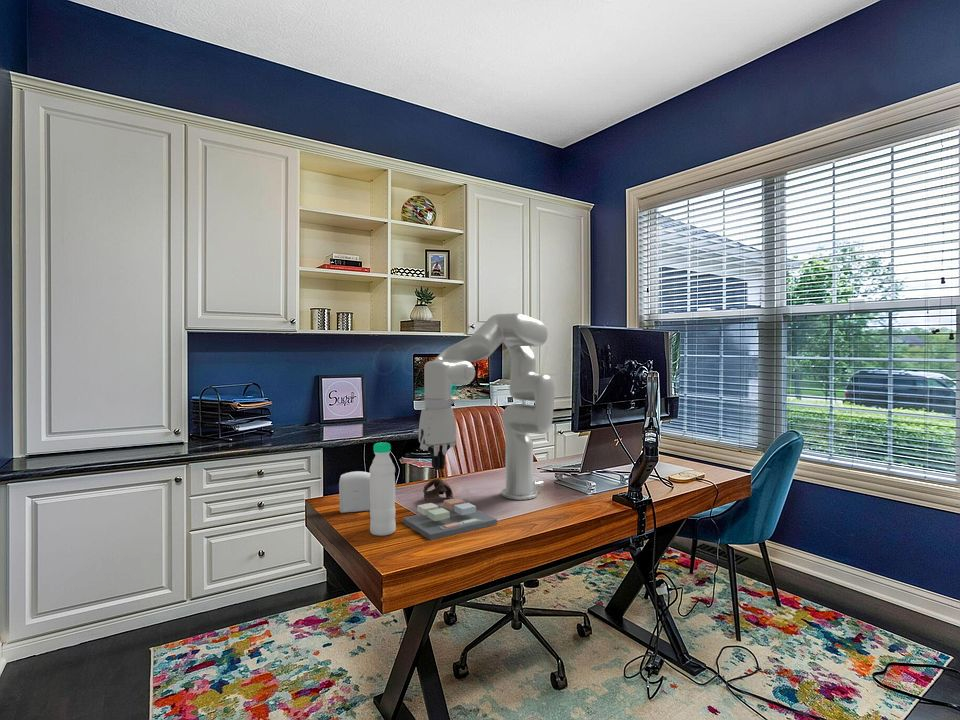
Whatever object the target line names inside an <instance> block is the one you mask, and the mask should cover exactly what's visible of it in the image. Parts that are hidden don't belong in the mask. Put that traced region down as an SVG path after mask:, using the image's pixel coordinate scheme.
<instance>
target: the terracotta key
mask: <svg viewBox="0 0 960 720" xmlns="http://www.w3.org/2000/svg"><path fill="white" fill-rule="evenodd" d="M464 503H466V502H465V500H462V499H461V498H459V497H455V498H454V497H453V499H451V498H449V499H444V500H443V507H445V509H450V510H453V509H454V505H459V504H464Z"/></svg>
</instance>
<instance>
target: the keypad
mask: <svg viewBox="0 0 960 720" xmlns="http://www.w3.org/2000/svg"><path fill="white" fill-rule="evenodd" d="M444 509H445V510H447V511H449V512H450V518H448V519H443V520H438V521H434V520H432V519H430V518H428V517H427V515H423V514H421V513H419V514H415V515H410V516H404V517H402V524H404V525H406V526H407V527H409V528H411V529H412V530H413V531H415V532H417V533H418V534H419V535H422V536H423V537H425V538H427V539H428V540H429V541H433V540H437V539H441V538H442V539H443V538H446V537H449V536H450V537H451V536H454V535H459V534H462V533H467V532H471V531H475V530H480V529H484V528H488V527H492V526H496V525H497V524H498V518H495V517H494V516H490V515H489V514H486V513H484V512H482V511H480V510H478V509H476V512H475V513H471V514H466V515H461V514H458V513H456V512H454V509H453V510H450V509H448V508H444Z"/></svg>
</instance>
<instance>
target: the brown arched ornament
mask: <svg viewBox="0 0 960 720" xmlns="http://www.w3.org/2000/svg"><path fill="white" fill-rule="evenodd" d="M432 486H433V487H434V488H433V489H431V490H429V488H431V487H432ZM422 492H423V499H424V501H425V502H426V501H427V500H430V499H433V498H435V497H436V498H440V495H444V494H445V497H446V498H450V499H453V498H454V494H453V490H452V488H451V486H450V484H448V483H447V482H446V481H444V480H443V479H442V478H434V479H432V480H430V481H428V483H426V484H425V485H424V486H423V491H422Z"/></svg>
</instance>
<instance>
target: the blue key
mask: <svg viewBox="0 0 960 720" xmlns="http://www.w3.org/2000/svg"><path fill="white" fill-rule="evenodd" d="M476 510H477V506H476V505H474V504H472V503H470V502H465V503H464V504H459V505H454V512H456V513H458V514H461V515H466V514H471V513H475V512H476Z"/></svg>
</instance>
